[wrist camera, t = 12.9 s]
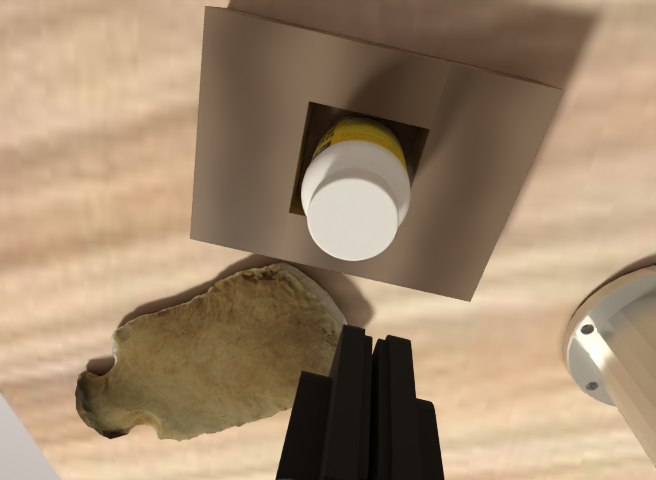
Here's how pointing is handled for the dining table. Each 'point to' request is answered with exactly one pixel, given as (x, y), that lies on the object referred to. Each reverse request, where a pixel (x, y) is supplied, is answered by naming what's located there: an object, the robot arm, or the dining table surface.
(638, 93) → the dining table surface
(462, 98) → the socket block
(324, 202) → the supplement bottle
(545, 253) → the dining table surface
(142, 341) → the stone tool
